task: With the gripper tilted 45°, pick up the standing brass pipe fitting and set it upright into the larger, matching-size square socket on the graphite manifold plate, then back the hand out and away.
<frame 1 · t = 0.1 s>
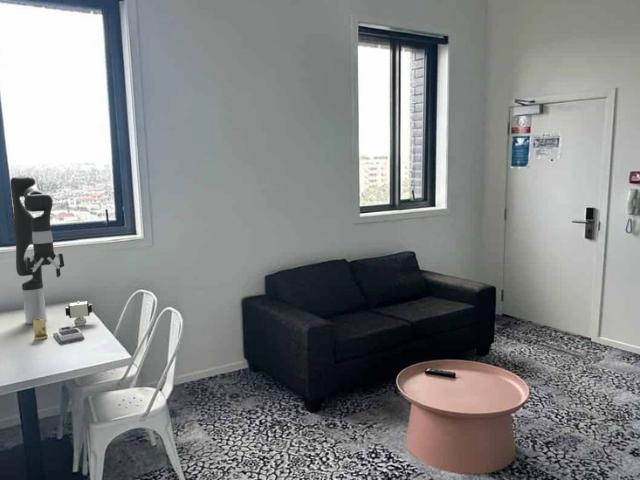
hand: (46, 278, 225), 29 cm above the table, tool pointing down, fingers open, 8 cm apart
brass fitting: (41, 338, 238), on the table
pneumatic valve: (80, 325, 257), on the table
manifold plate: (68, 337, 238), on the table
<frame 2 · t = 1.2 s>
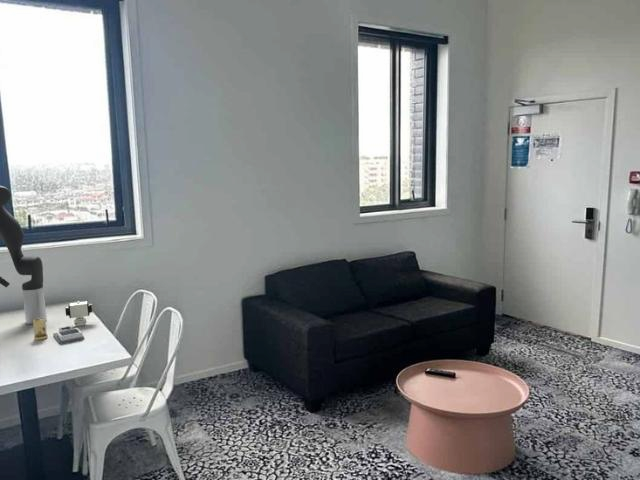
hand: (6, 284, 229), 27 cm above the table, tool tilted 45°, fingers open, 8 cm apart
nothing on the table moved.
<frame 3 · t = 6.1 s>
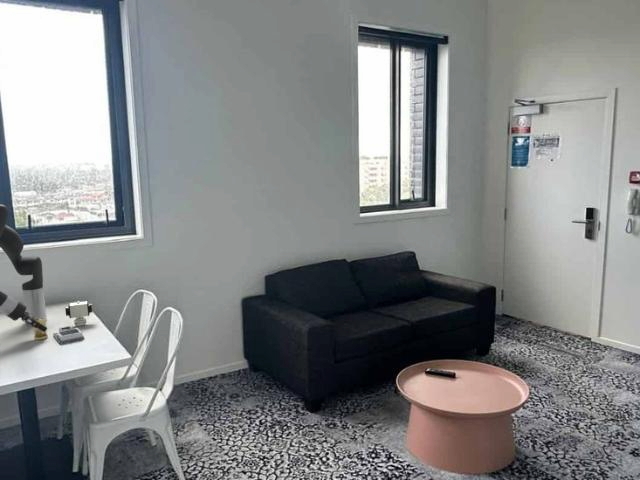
hand: (44, 328, 238), 4 cm above the table, tool tilted 45°, fingers closed on brass fitting, 4 cm apart
brass fitting: (41, 338, 238), on the table, touching gripper
everything else where it was.
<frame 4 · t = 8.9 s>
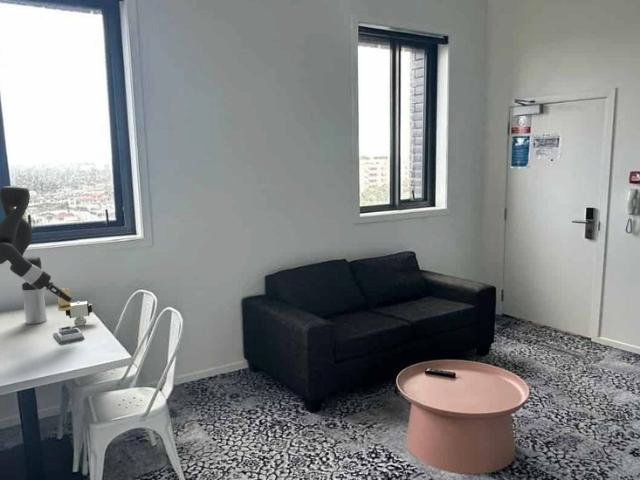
hand: (68, 299, 234), 18 cm above the table, tool tilted 45°, fingers closed on brass fitting, 4 cm apart
brass fitting: (65, 309, 233), point 14 cm above the table, touching gripper
everything else where it was.
when the fingers open (7 cm above the table, at t = 11.5 s): brass fitting drops 2 cm, resting on manifold plate.
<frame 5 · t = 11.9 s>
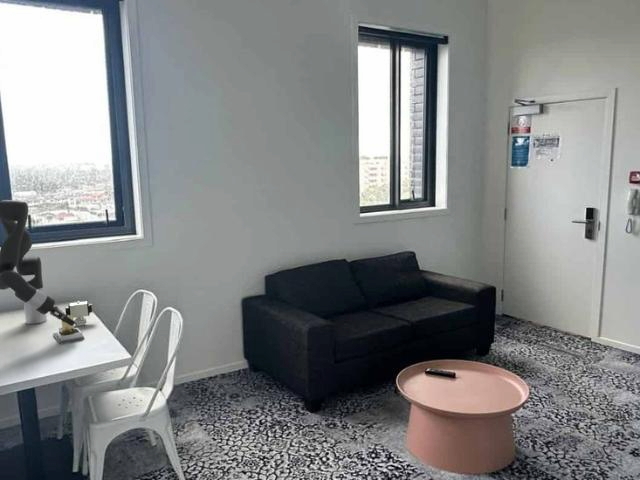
hand: (71, 322, 235), 8 cm above the table, tool tilted 45°, fingers open, 8 cm apart
brass fitting: (69, 336, 235), point 1 cm above the table, touching manifold plate
everything else where it was.
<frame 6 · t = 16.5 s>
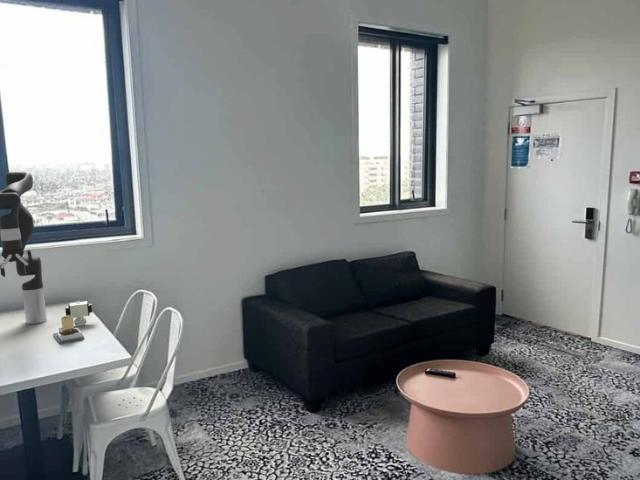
hand: (15, 275, 231), 30 cm above the table, tool pointing down, fingers open, 8 cm apart
nothing on the table moved.
at the end: brass fitting 0.2 cm from the target spot on the manifold plate, point 1.2 cm above the manifold plate's base; brass fitting tilted 0°; the gripper is holding nothing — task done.
